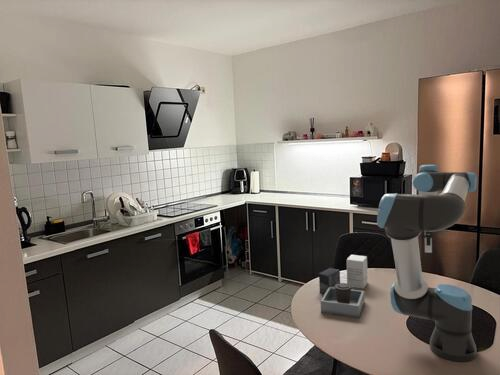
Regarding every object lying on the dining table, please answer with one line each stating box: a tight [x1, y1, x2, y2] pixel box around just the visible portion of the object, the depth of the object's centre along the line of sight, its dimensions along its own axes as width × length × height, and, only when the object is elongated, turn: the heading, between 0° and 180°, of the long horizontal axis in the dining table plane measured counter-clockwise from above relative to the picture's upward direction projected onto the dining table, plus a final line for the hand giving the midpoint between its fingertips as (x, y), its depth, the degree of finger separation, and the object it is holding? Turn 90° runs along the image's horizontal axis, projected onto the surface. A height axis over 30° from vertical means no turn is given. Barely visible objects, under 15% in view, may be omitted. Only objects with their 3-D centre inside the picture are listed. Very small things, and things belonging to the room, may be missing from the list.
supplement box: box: [346, 254, 369, 289], centre depth 203 cm, size 9×9×15 cm
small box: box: [318, 267, 341, 295], centre depth 197 cm, size 11×6×10 cm, turn 134°
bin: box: [320, 287, 365, 319], centre depth 178 cm, size 17×17×6 cm
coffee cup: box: [334, 282, 353, 304], centre depth 178 cm, size 8×8×10 cm
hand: (428, 247), depth 168 cm, fingers open, 13 cm apart
